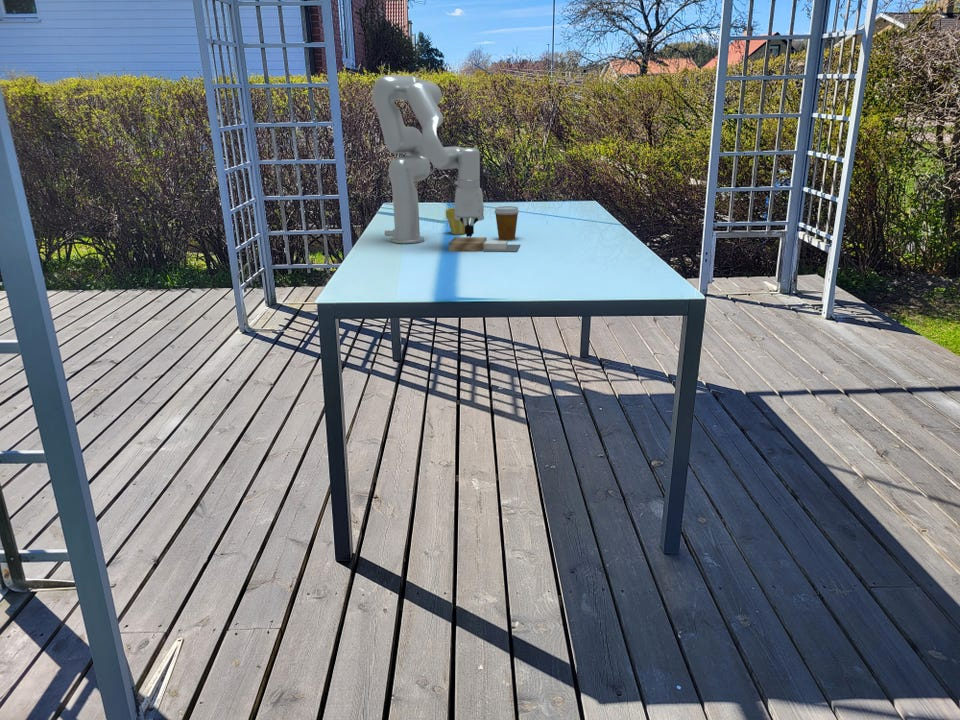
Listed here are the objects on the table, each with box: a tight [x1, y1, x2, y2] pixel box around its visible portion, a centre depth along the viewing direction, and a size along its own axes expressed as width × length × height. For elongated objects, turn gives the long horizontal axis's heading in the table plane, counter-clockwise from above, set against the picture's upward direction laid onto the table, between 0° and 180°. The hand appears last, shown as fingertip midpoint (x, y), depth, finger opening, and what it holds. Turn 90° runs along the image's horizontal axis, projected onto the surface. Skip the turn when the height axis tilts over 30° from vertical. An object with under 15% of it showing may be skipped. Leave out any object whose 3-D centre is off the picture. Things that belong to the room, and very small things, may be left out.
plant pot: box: [445, 207, 471, 235], centre depth 289 cm, size 10×10×10 cm
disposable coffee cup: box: [493, 205, 520, 241], centre depth 273 cm, size 10×10×12 cm
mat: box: [482, 244, 521, 253], centre depth 257 cm, size 12×13×1 cm
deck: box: [448, 236, 488, 253], centre depth 258 cm, size 12×12×3 cm
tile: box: [483, 240, 508, 249], centre depth 256 cm, size 8×6×2 cm
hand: (469, 236), depth 257 cm, fingers closed
